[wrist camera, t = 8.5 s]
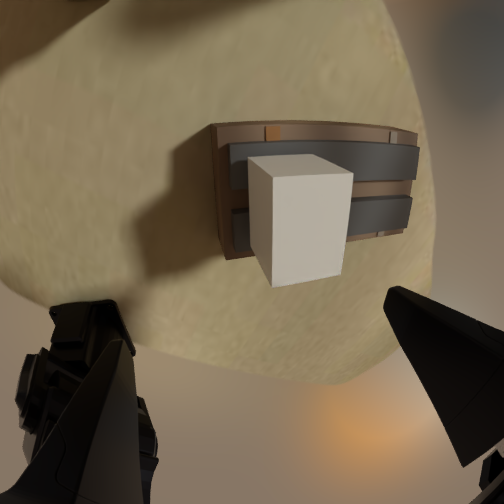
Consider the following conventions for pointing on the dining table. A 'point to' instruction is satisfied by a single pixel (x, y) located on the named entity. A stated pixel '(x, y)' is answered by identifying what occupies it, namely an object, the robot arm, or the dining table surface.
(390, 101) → the dining table surface
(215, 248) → the dining table surface
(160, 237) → the dining table surface
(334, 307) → the dining table surface
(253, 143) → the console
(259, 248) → the block
